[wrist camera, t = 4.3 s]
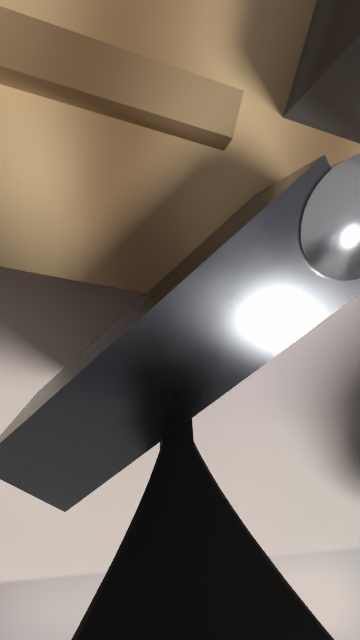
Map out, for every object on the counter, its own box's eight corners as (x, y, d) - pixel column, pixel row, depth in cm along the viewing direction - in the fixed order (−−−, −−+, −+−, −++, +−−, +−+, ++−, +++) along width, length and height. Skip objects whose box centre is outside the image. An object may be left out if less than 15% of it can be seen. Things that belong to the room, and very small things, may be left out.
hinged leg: (285, 166, 7) (389, 98, 4) (326, 242, 7) (437, 239, 4) (38, 391, 9) (-30, 469, 6) (94, 430, 9) (63, 515, 6)
